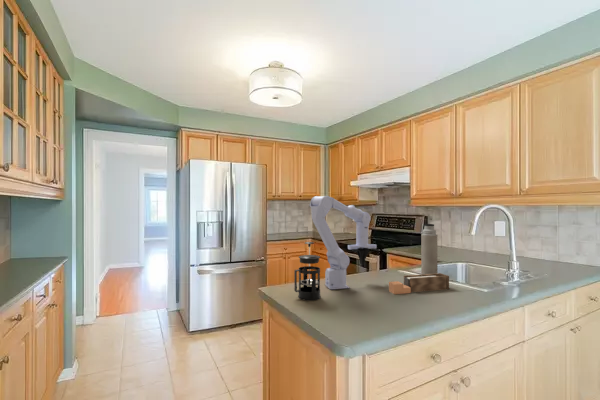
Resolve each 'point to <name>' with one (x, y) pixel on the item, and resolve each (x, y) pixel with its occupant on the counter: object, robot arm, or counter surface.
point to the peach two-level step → (398, 288)
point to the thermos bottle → (429, 250)
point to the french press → (309, 287)
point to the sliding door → (407, 280)
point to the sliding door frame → (428, 282)
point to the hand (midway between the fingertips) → (362, 263)
